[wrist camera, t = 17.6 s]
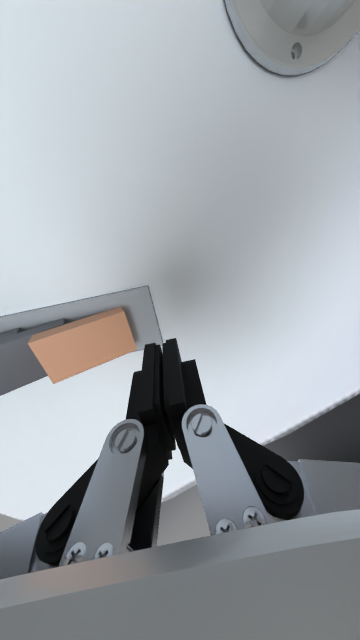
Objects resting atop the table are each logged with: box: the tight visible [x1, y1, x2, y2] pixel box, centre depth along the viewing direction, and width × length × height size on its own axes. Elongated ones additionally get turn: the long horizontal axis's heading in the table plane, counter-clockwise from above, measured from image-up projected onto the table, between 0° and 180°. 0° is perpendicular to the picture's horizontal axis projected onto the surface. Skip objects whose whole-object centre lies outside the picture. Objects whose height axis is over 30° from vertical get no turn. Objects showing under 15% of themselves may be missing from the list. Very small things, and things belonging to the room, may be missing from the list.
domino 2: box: [28, 306, 137, 384], centre depth 21 cm, size 2×5×9 cm
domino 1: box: [0, 318, 66, 396], centre depth 20 cm, size 2×5×9 cm
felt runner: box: [0, 286, 163, 352], centre depth 23 cm, size 26×8×1 cm, turn 100°
